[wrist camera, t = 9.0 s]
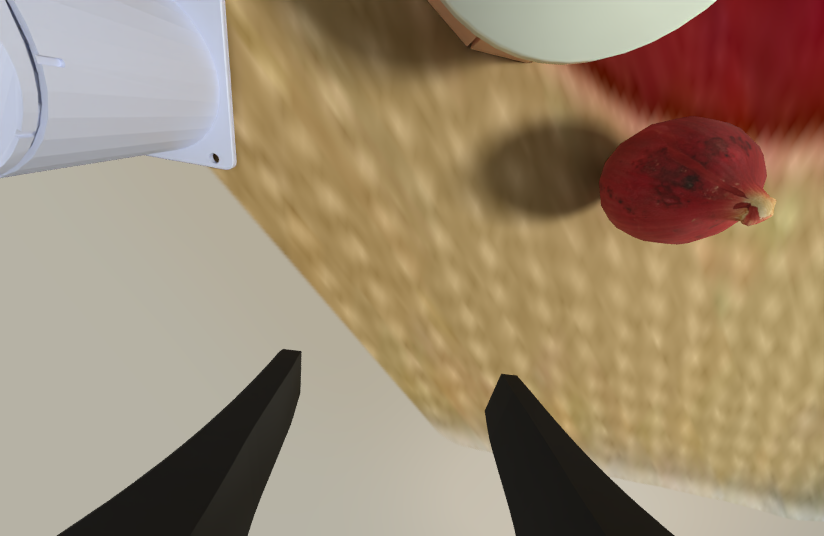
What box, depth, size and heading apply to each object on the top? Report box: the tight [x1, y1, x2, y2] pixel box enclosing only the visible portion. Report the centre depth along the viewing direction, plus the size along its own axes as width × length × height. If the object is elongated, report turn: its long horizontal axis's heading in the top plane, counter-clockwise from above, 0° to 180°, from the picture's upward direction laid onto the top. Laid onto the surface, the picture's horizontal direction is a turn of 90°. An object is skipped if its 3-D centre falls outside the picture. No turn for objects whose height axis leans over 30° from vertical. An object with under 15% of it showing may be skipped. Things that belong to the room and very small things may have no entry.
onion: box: [599, 116, 777, 244], centre depth 14 cm, size 6×6×8 cm
